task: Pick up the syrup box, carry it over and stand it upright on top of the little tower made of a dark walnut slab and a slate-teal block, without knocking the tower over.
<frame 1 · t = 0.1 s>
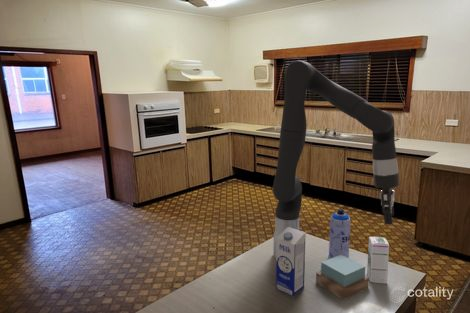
hand: (389, 219, 110), 22 cm above the table, tool pointing down, fingers open, 8 cm apart
teal block: (342, 275, 112), point 3 cm above the table
milk carton: (290, 288, 111), on the table
syrup box: (376, 279, 116), on the table
walnut slab: (341, 286, 113), on the table
aerosol can: (338, 258, 131), on the table
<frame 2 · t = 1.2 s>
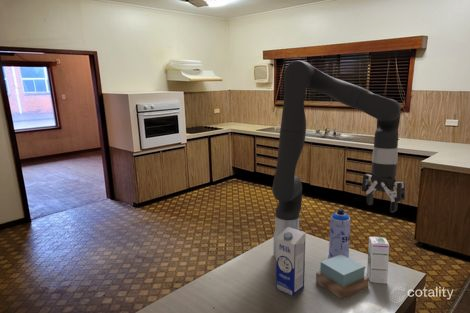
hand: (381, 208, 111), 26 cm above the table, tool pointing down, fingers open, 8 cm apart
teal block: (341, 274, 112), point 3 cm above the table, touching walnut slab
walnut slab: (341, 286, 112), on the table, touching teal block
everything else where it was.
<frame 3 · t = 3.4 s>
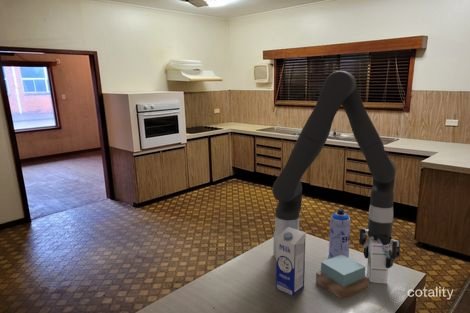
hand: (377, 262, 115), 6 cm above the table, tool pointing down, fingers closed on syrup box, 8 cm apart
teal block: (342, 275, 112), point 3 cm above the table
syrup box: (376, 279, 116), on the table, touching gripper
walnut slab: (341, 286, 112), on the table
everything else where it was.
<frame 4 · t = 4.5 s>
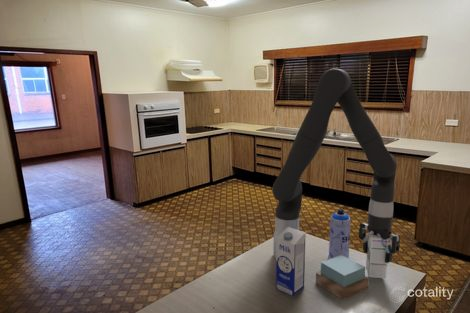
hand: (376, 257, 114), 8 cm above the table, tool pointing down, fingers closed on syrup box, 8 cm apart
teal block: (342, 275, 112), point 3 cm above the table, touching walnut slab
syrup box: (375, 274, 116), point 2 cm above the table, touching gripper
walnut slab: (341, 286, 112), on the table, touching teal block
everything else where it was.
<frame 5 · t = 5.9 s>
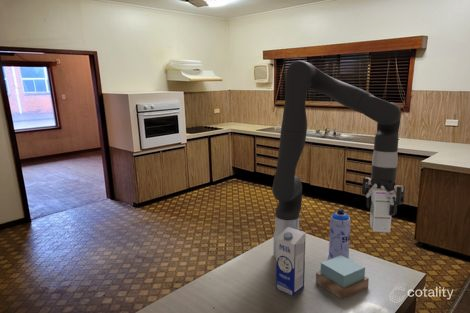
hand: (380, 211, 111), 25 cm above the table, tool pointing down, fingers closed on syrup box, 8 cm apart
syrup box: (379, 229, 112), point 18 cm above the table, touching gripper
everything else where it was.
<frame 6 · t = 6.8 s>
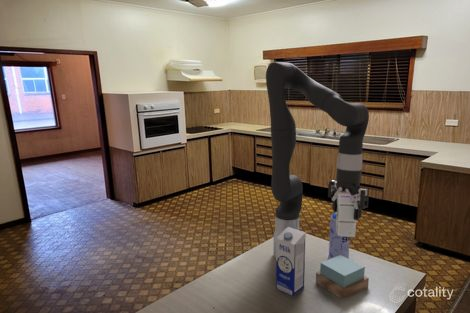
hand: (346, 215, 108), 25 cm above the table, tool pointing down, fingers closed on syrup box, 8 cm apart
teal block: (341, 275, 111), point 4 cm above the table
syrup box: (344, 233, 109), point 18 cm above the table, touching gripper
walnut slab: (341, 286, 112), on the table
everything else where it was.
when the fingers open (15 cm above the table, at t = 9.5 s): syrup box drops 2 cm, resting on teal block.
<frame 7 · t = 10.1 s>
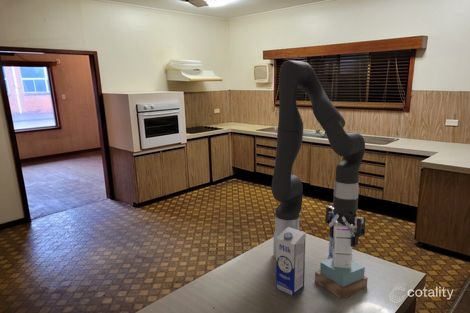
hand: (343, 241, 110), 16 cm above the table, tool pointing down, fingers open, 8 cm apart
teal block: (341, 275, 112), point 3 cm above the table, touching syrup box, walnut slab
syrup box: (341, 264, 111), point 7 cm above the table, touching gripper, teal block
walnut slab: (340, 285, 113), on the table, touching teal block
everything else where it was.
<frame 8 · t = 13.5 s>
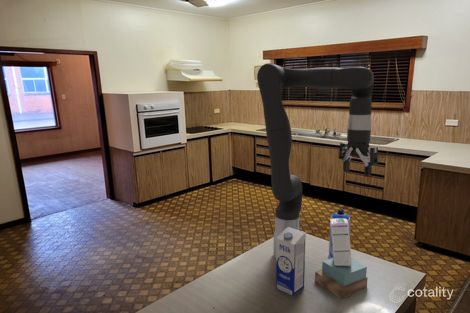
hand: (356, 174, 116), 36 cm above the table, tool pointing down, fingers open, 8 cm apart
teal block: (343, 274, 112), point 3 cm above the table, touching walnut slab
syrup box: (342, 262, 112), point 8 cm above the table
everything else where it was.
at the end: syrup box 0.7 cm off-centre on the teal block, point 4.3 cm above the teal block's base; syrup box tilted 9°; teal block 0.8 cm off-centre on the walnut slab, point 4.0 cm above the walnut slab's base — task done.
